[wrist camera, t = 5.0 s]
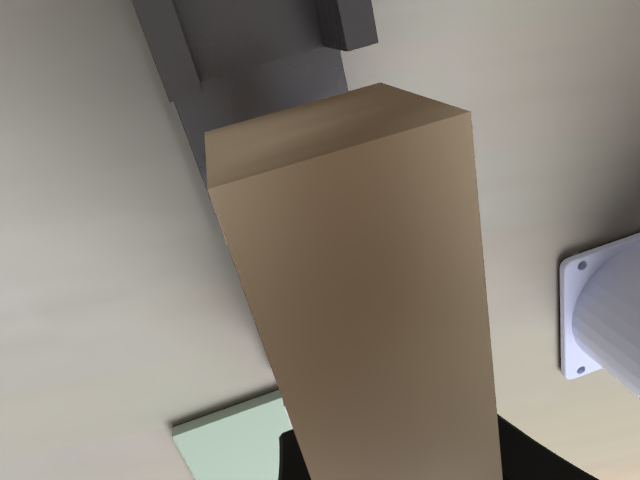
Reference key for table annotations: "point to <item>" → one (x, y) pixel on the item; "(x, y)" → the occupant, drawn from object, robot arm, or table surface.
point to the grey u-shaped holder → (250, 56)
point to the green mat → (235, 440)
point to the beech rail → (366, 280)
